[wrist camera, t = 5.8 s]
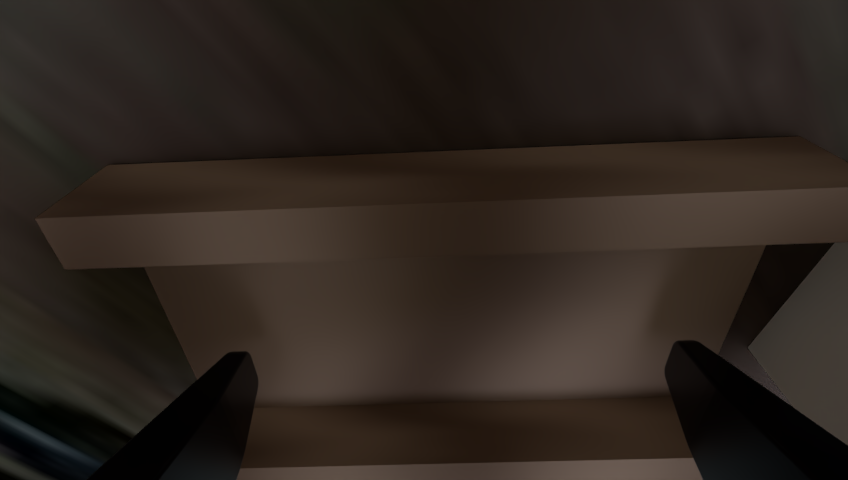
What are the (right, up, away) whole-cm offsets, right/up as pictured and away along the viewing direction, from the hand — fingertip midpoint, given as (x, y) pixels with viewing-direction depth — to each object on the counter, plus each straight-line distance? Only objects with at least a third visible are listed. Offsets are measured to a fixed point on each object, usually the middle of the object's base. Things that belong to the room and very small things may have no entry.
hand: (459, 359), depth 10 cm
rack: (0, +1, +1) cm, 1 cm away
